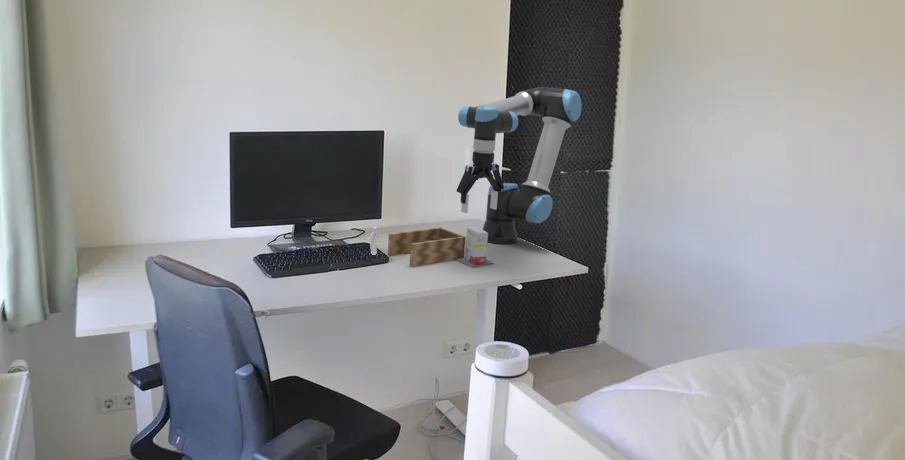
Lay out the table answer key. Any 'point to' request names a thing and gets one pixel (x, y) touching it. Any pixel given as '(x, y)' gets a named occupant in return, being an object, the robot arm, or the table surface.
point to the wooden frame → (427, 245)
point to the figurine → (373, 241)
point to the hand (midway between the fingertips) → (479, 210)
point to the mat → (466, 262)
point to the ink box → (476, 245)
